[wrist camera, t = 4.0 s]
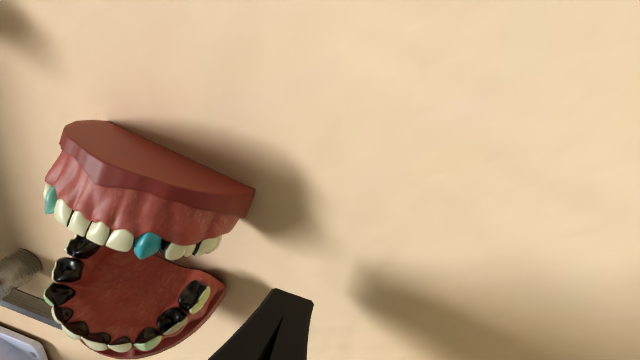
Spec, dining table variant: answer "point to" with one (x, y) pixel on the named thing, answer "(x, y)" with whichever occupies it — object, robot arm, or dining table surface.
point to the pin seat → (13, 273)
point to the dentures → (119, 239)
